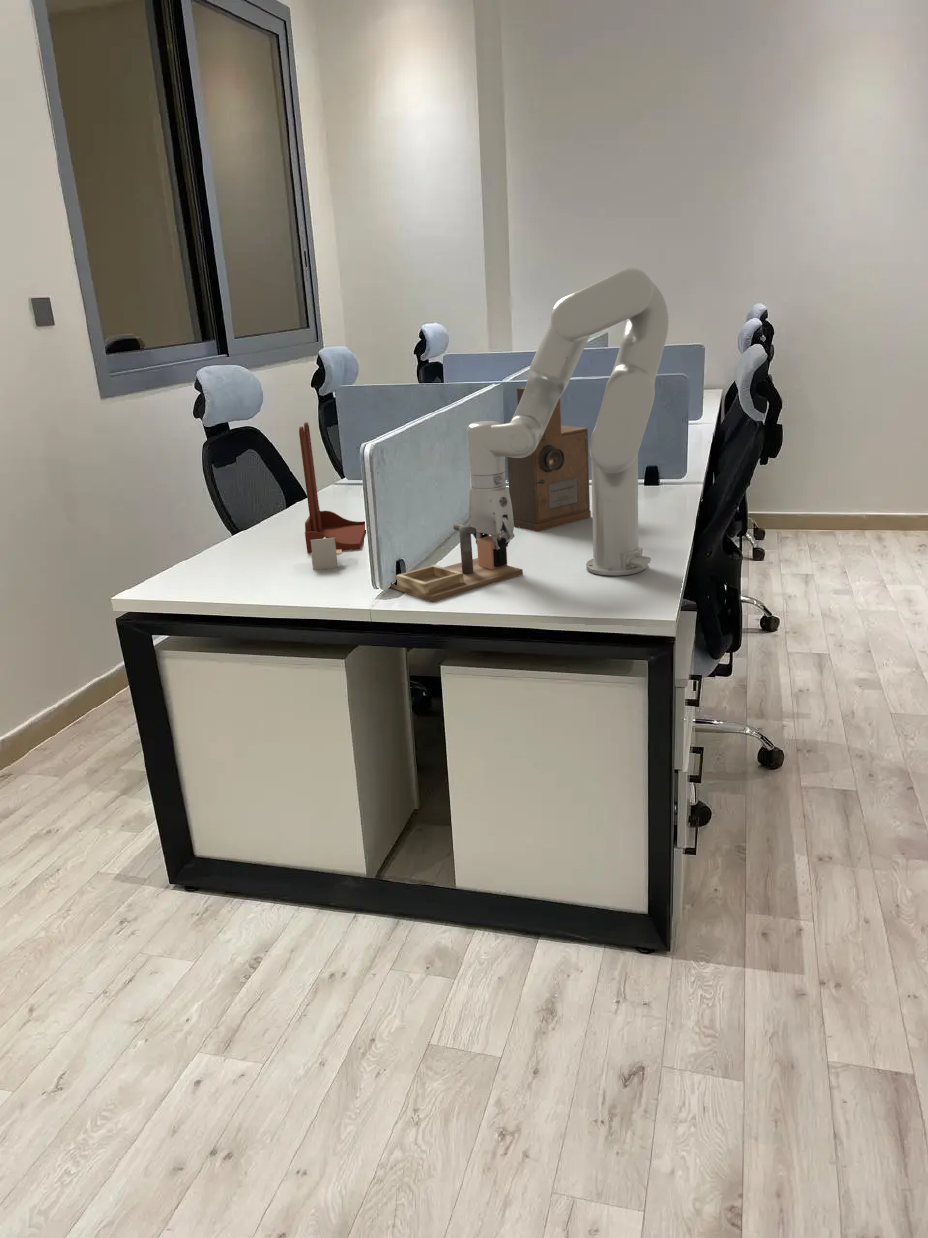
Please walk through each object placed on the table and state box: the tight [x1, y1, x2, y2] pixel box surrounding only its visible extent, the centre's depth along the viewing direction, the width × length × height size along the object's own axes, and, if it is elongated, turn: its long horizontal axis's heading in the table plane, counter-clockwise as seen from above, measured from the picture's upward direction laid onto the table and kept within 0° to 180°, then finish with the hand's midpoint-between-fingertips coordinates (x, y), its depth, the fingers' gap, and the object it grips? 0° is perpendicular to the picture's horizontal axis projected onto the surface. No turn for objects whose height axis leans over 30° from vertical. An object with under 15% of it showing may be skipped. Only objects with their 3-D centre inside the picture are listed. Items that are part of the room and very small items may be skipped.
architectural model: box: [310, 537, 343, 570], centre depth 216 cm, size 3×7×7 cm, turn 98°
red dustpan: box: [298, 422, 367, 554], centre depth 236 cm, size 24×13×30 cm, turn 1°
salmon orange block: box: [476, 535, 508, 569], centre depth 202 cm, size 4×4×6 cm
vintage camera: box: [506, 386, 592, 533], centre depth 236 cm, size 19×14×35 cm
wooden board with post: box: [390, 523, 524, 603], centre depth 196 cm, size 15×24×12 cm, turn 128°
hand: (492, 562), depth 203 cm, fingers closed on salmon orange block, 4 cm apart
